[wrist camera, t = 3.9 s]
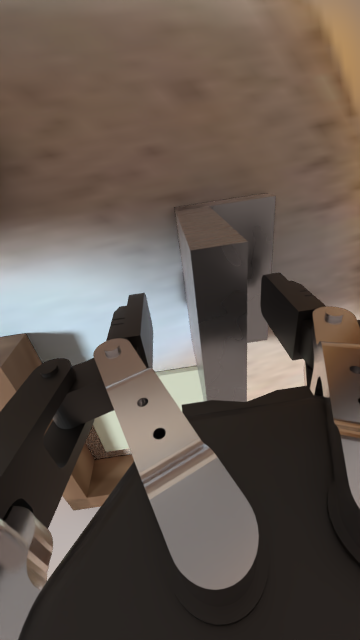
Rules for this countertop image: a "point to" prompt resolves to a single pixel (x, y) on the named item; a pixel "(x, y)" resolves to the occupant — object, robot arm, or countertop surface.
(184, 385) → the mat
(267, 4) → the countertop surface
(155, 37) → the countertop surface
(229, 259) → the angle bracket
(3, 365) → the corner walls
